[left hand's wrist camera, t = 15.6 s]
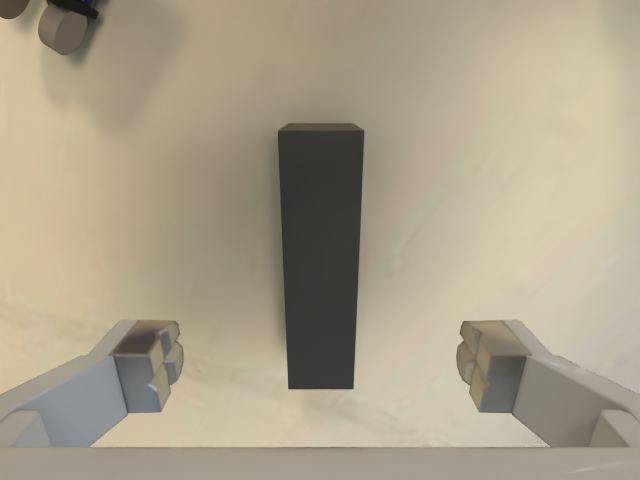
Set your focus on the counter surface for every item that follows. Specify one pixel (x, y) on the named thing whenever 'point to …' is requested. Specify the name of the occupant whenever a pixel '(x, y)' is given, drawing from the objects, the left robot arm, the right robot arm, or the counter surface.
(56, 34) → the black wheeled block
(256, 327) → the counter surface
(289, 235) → the box
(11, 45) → the counter surface
